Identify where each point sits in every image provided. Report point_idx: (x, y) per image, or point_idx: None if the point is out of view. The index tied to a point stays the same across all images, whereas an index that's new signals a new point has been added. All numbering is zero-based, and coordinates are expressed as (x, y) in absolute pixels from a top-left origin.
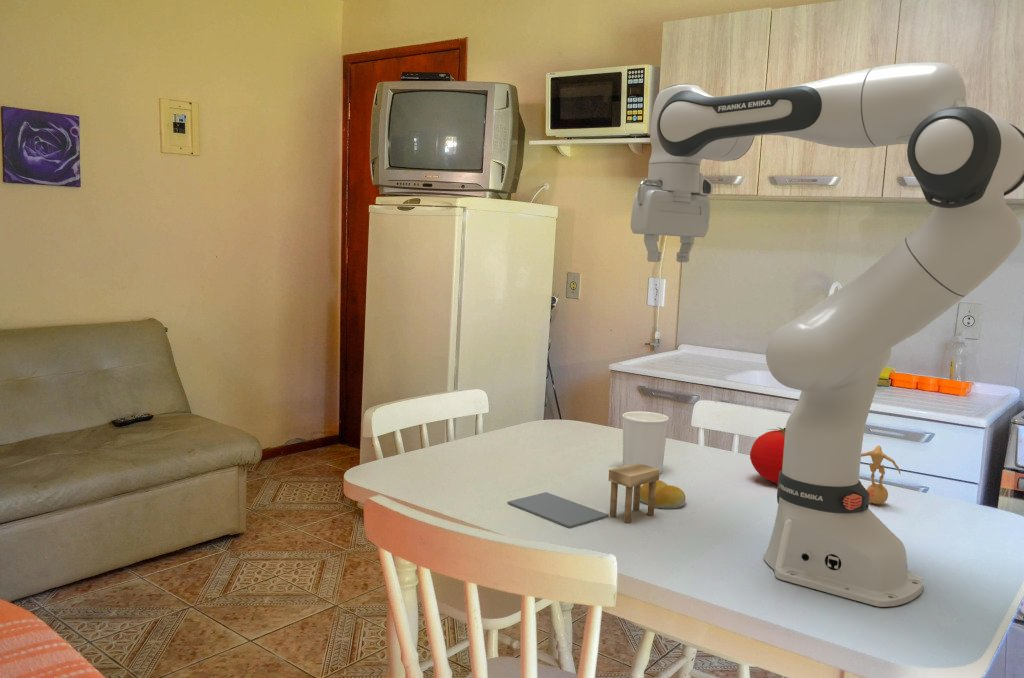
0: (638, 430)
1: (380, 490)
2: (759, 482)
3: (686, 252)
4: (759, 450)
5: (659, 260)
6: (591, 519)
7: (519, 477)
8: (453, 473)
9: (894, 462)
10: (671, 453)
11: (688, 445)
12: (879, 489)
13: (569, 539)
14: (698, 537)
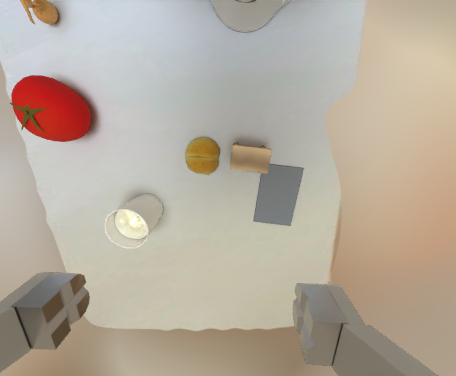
0: (149, 220)
1: None
2: (92, 125)
3: (14, 315)
4: (78, 125)
5: (305, 284)
6: (281, 166)
7: (236, 254)
8: (262, 285)
9: None
10: (87, 218)
11: (53, 221)
12: (44, 3)
13: (321, 155)
14: (254, 91)
